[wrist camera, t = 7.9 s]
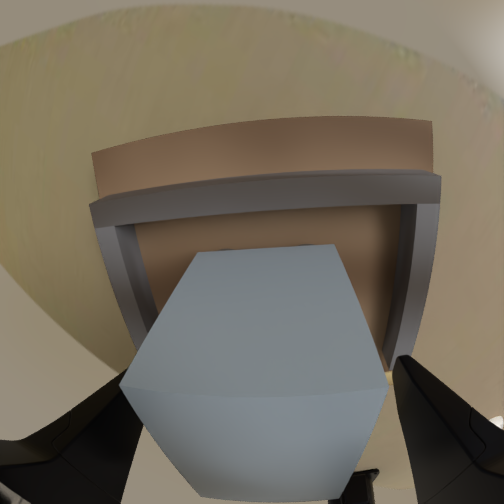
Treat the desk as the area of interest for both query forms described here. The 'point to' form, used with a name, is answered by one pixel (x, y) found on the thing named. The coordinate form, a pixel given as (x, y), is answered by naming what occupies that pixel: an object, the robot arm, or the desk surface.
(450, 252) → the desk surface
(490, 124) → the desk surface
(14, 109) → the desk surface
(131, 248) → the dock
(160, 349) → the pale blue box
